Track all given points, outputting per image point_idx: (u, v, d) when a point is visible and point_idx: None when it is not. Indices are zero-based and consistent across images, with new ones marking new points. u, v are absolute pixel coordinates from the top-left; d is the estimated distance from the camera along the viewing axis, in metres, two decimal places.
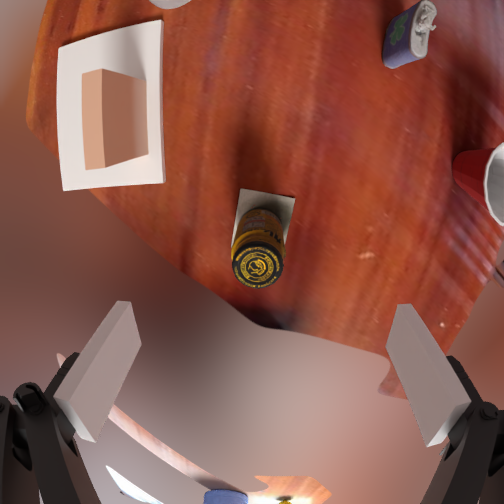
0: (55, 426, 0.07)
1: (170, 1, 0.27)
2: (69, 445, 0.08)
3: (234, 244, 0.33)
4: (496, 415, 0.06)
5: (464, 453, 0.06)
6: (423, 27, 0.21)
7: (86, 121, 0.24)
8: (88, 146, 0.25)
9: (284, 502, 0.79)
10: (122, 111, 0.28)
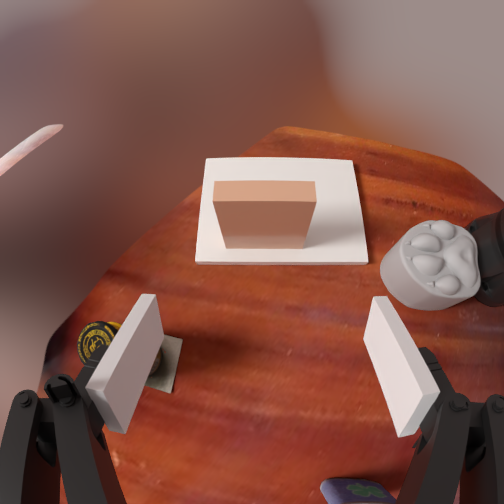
0: (86, 420, 0.07)
1: (387, 269, 0.37)
2: (97, 438, 0.09)
3: None
4: (467, 406, 0.07)
5: (436, 446, 0.06)
6: None
7: (263, 184, 0.29)
8: (237, 185, 0.29)
9: None
10: (270, 223, 0.33)
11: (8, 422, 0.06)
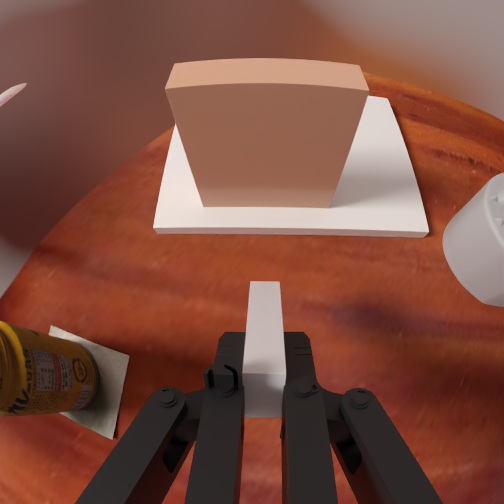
0: (240, 415, 0.08)
1: (459, 243, 0.21)
2: None
3: (11, 330, 0.13)
4: (317, 389, 0.09)
5: (291, 440, 0.07)
6: None
7: (265, 63, 0.13)
8: (215, 65, 0.13)
9: None
10: (277, 144, 0.17)
11: (138, 418, 0.08)
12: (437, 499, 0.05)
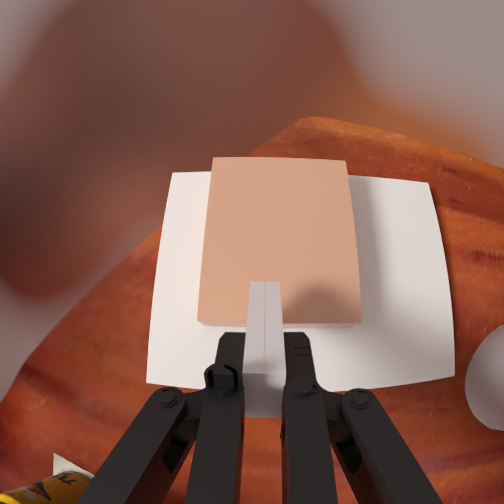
0: (240, 415, 0.08)
1: (483, 389, 0.16)
2: None
3: None
4: (317, 388, 0.09)
5: (291, 440, 0.07)
6: None
7: None
8: None
9: None
10: (289, 211, 0.20)
11: (138, 418, 0.08)
12: (437, 499, 0.05)
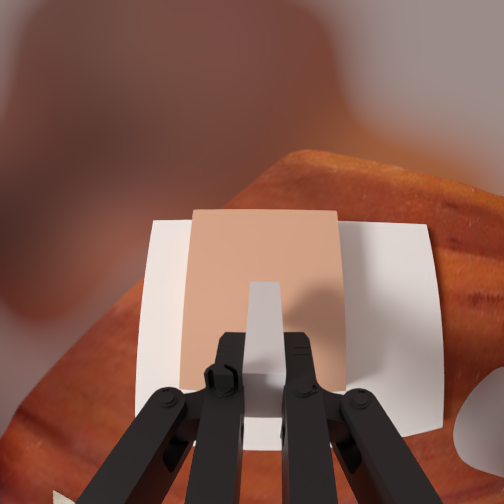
0: (240, 415, 0.08)
1: (470, 440, 0.15)
2: None
3: None
4: (316, 388, 0.09)
5: (291, 441, 0.07)
6: None
7: None
8: None
9: None
10: (274, 274, 0.19)
11: (138, 418, 0.08)
12: (437, 499, 0.05)
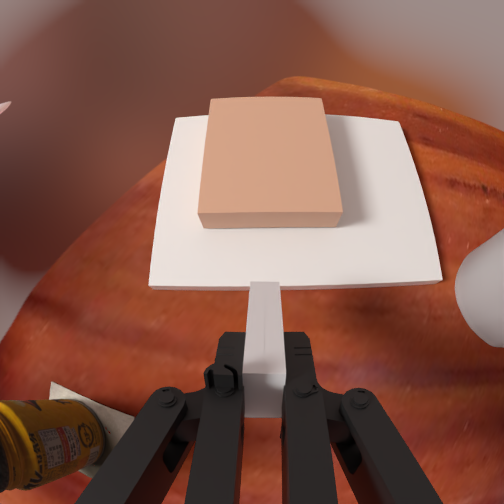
0: (240, 415, 0.08)
1: (473, 292, 0.19)
2: None
3: (13, 414, 0.11)
4: (316, 388, 0.09)
5: (291, 440, 0.07)
6: None
7: None
8: None
9: None
10: (275, 132, 0.23)
11: (138, 418, 0.08)
12: (436, 499, 0.05)
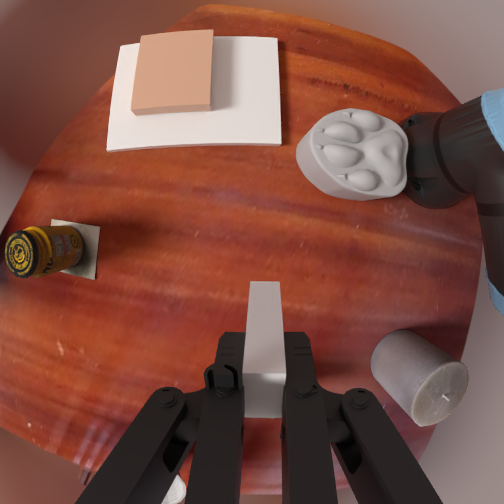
0: (240, 415, 0.08)
1: (300, 153, 0.36)
2: None
3: (39, 229, 0.28)
4: (316, 388, 0.09)
5: (291, 440, 0.07)
6: None
7: None
8: None
9: None
10: (177, 57, 0.32)
11: (138, 418, 0.08)
12: (437, 499, 0.05)
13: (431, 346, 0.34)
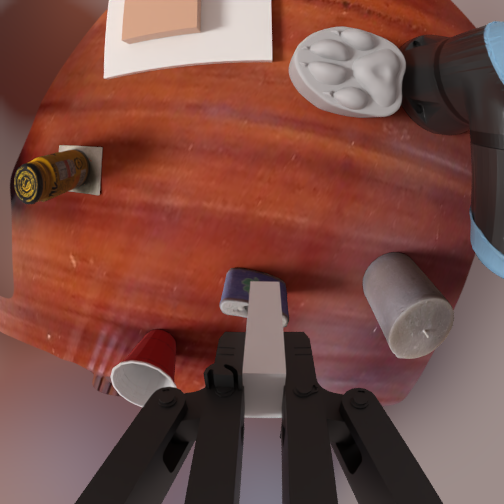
0: (240, 415, 0.08)
1: (290, 69, 0.31)
2: None
3: (43, 159, 0.30)
4: (317, 388, 0.09)
5: (291, 440, 0.07)
6: None
7: None
8: None
9: None
10: None
11: (138, 418, 0.08)
12: (437, 499, 0.05)
13: (420, 276, 0.36)
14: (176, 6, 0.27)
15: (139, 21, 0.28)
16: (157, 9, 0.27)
